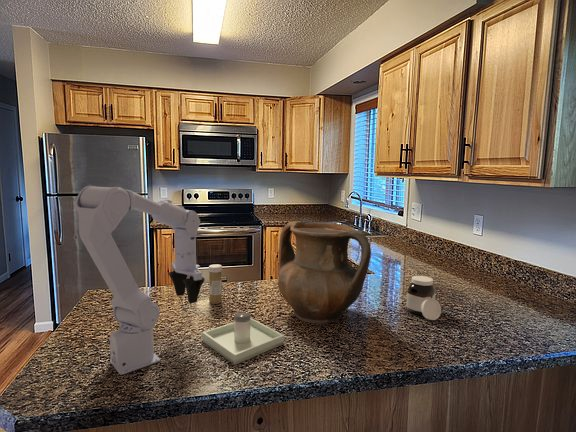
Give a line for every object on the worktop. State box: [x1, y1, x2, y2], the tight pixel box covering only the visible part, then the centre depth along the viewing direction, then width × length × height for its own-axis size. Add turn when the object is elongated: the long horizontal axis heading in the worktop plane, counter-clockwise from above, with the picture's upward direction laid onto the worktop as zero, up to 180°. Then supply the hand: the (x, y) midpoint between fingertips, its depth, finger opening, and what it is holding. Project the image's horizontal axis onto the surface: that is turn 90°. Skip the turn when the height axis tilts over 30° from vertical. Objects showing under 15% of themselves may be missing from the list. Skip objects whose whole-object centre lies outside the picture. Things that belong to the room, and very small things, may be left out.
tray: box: [201, 317, 285, 365], centre depth 98 cm, size 16×16×2 cm
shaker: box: [233, 312, 251, 344], centre depth 97 cm, size 4×4×7 cm
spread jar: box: [406, 275, 442, 321], centre depth 119 cm, size 12×11×12 cm
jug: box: [277, 221, 372, 325], centre depth 117 cm, size 32×28×30 cm
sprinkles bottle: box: [208, 263, 223, 305], centre depth 127 cm, size 5×5×13 cm
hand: (186, 298), depth 102 cm, fingers open, 7 cm apart
